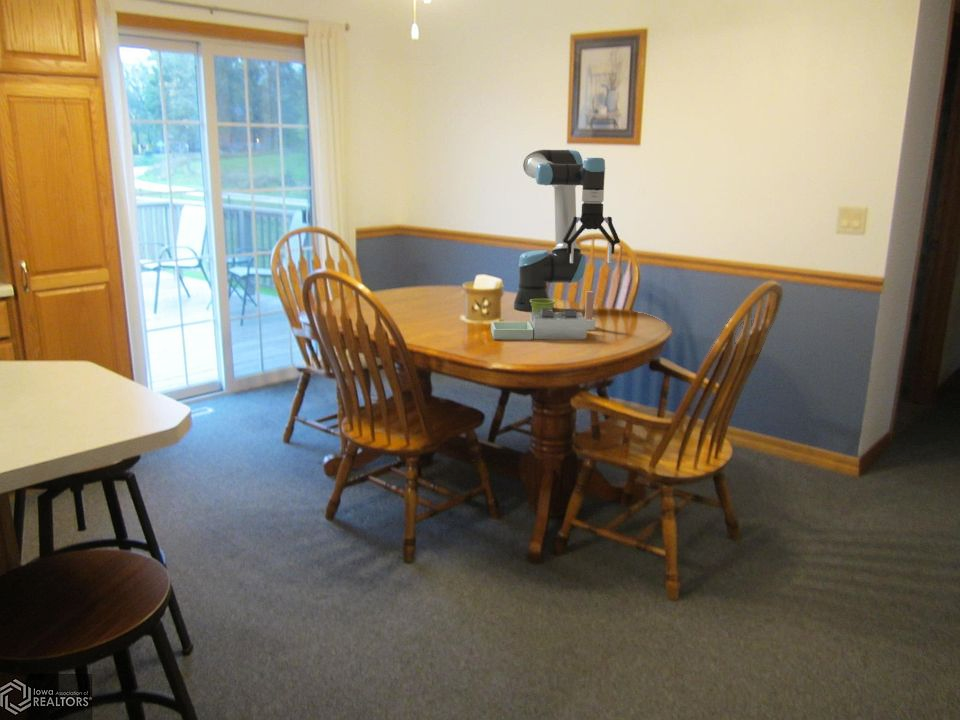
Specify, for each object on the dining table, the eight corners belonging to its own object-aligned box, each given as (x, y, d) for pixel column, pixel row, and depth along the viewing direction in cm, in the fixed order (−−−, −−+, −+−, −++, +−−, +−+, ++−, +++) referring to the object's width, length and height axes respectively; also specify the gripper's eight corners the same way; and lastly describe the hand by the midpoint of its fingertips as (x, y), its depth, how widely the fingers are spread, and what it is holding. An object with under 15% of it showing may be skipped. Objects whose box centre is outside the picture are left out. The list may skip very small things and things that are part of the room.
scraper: (581, 326, 295) (583, 290, 292) (592, 326, 295) (593, 290, 292) (583, 329, 290) (585, 292, 287) (594, 329, 290) (596, 292, 287)
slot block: (530, 331, 286) (530, 312, 284) (580, 331, 287) (581, 312, 285) (534, 339, 274) (534, 319, 272) (586, 339, 275) (587, 319, 273)
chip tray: (490, 331, 285) (491, 321, 284) (528, 331, 286) (528, 321, 285) (493, 339, 273) (493, 329, 272) (532, 339, 273) (533, 329, 273)
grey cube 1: (563, 320, 281) (563, 309, 280) (574, 320, 281) (574, 309, 280) (564, 322, 277) (565, 311, 276) (576, 322, 277) (576, 311, 276)
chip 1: (540, 320, 281) (540, 308, 280) (551, 320, 281) (552, 308, 280) (541, 322, 277) (542, 311, 276) (553, 322, 277) (553, 311, 276)
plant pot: (537, 320, 306) (538, 297, 304) (558, 323, 301) (559, 300, 298) (524, 323, 298) (525, 301, 296) (546, 327, 293) (546, 303, 291)
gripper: (559, 202, 278) (557, 263, 283) (630, 203, 280) (627, 264, 284) (556, 202, 286) (554, 261, 290) (625, 202, 287) (622, 262, 292)
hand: (590, 263), depth 287 cm, fingers open, 13 cm apart
